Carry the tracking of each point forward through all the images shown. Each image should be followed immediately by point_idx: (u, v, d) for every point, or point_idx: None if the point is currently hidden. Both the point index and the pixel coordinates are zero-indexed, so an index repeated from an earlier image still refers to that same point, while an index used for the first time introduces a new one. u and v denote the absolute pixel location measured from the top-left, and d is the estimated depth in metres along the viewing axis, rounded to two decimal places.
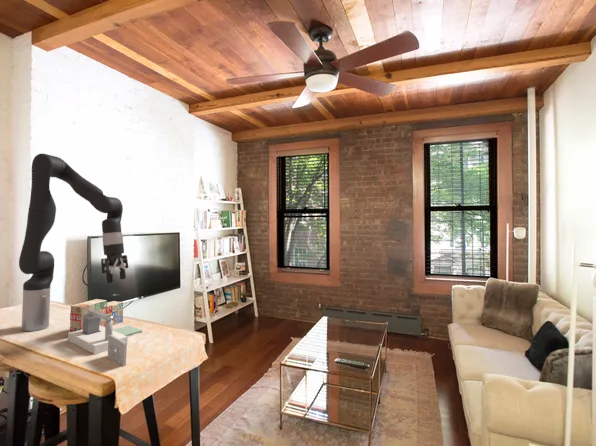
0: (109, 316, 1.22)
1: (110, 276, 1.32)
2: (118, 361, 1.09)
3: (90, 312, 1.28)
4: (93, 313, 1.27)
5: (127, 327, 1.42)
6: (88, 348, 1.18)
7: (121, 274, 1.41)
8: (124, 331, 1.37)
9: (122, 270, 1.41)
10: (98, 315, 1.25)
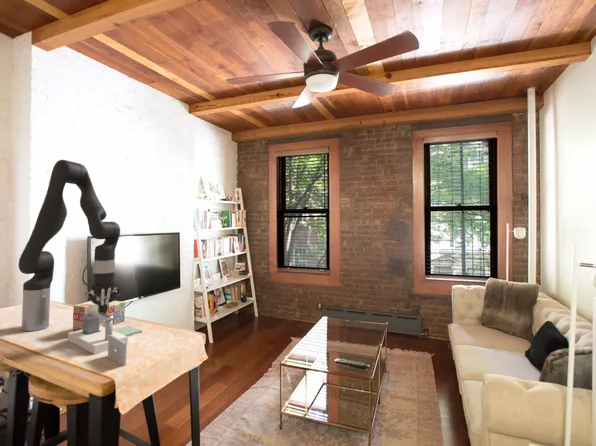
0: (109, 316, 1.22)
1: (101, 307, 1.28)
2: (118, 361, 1.09)
3: (90, 312, 1.28)
4: (93, 313, 1.26)
5: (127, 327, 1.42)
6: (88, 348, 1.18)
7: None
8: (124, 331, 1.37)
9: None
10: (98, 315, 1.24)
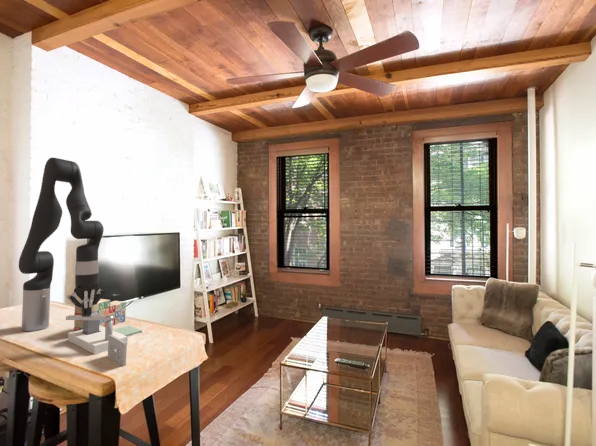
0: (109, 316, 1.22)
1: (85, 310, 1.22)
2: (118, 361, 1.09)
3: (73, 318, 1.20)
4: (80, 318, 1.20)
5: (127, 327, 1.42)
6: (88, 348, 1.18)
7: None
8: (124, 331, 1.37)
9: (87, 307, 1.24)
10: (91, 318, 1.21)
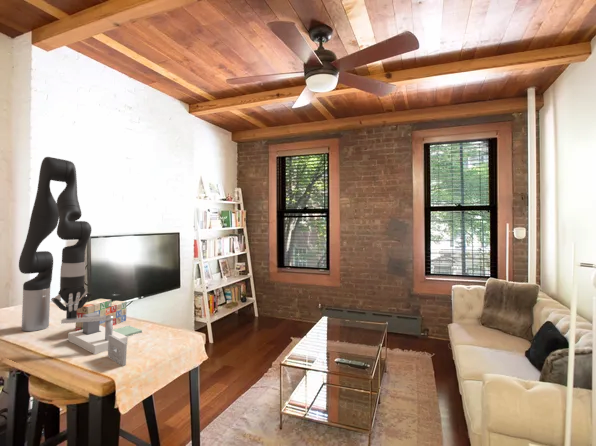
0: (109, 316, 1.22)
1: (69, 314, 1.18)
2: (118, 361, 1.09)
3: (70, 321, 1.17)
4: (77, 320, 1.17)
5: (127, 327, 1.42)
6: (88, 348, 1.18)
7: None
8: (124, 331, 1.37)
9: (72, 310, 1.20)
10: (90, 319, 1.19)
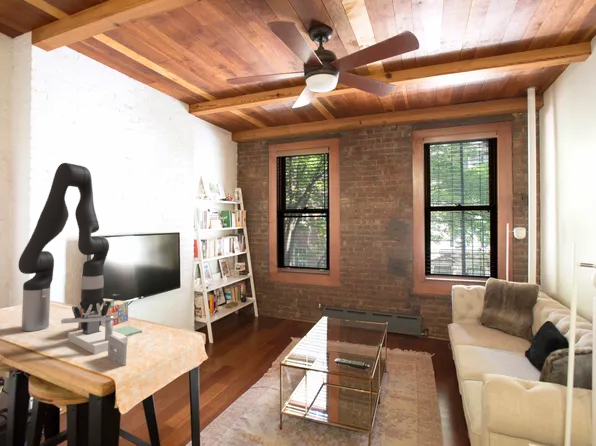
0: (109, 316, 1.22)
1: (84, 324, 1.26)
2: (118, 361, 1.09)
3: (70, 321, 1.17)
4: (77, 320, 1.17)
5: (127, 327, 1.42)
6: (88, 348, 1.18)
7: None
8: (124, 331, 1.37)
9: None
10: (90, 319, 1.19)
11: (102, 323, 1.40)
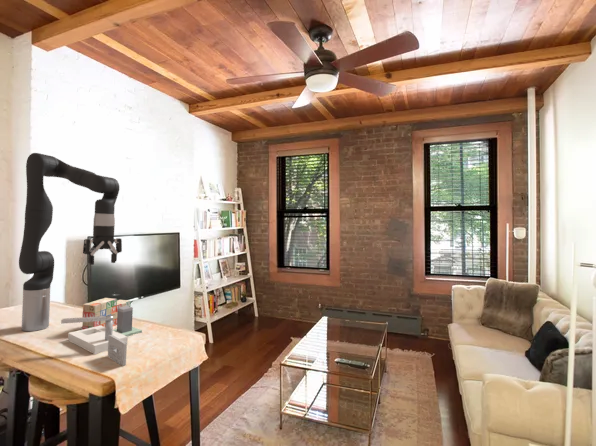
0: (109, 316, 1.22)
1: (91, 258, 1.29)
2: (118, 361, 1.09)
3: (70, 321, 1.17)
4: (77, 320, 1.17)
5: None
6: (88, 348, 1.18)
7: (112, 257, 1.37)
8: None
9: (113, 253, 1.36)
10: (90, 319, 1.19)
11: None
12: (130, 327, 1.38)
